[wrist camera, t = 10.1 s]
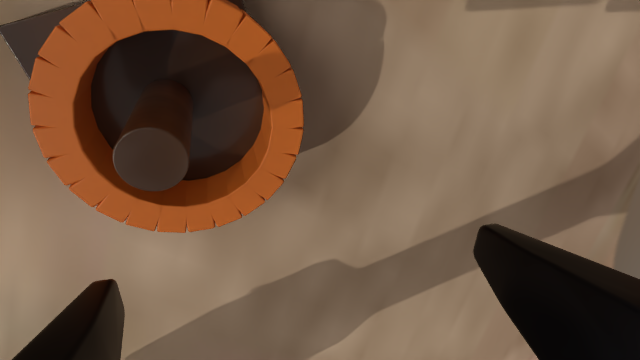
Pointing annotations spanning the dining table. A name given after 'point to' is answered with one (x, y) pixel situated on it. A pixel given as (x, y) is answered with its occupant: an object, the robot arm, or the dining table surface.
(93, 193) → the toy tire
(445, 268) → the dining table surface
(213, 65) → the peg stand
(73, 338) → the robot arm
